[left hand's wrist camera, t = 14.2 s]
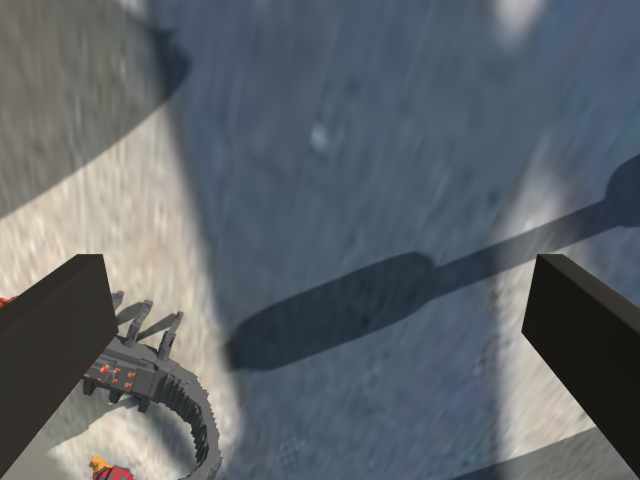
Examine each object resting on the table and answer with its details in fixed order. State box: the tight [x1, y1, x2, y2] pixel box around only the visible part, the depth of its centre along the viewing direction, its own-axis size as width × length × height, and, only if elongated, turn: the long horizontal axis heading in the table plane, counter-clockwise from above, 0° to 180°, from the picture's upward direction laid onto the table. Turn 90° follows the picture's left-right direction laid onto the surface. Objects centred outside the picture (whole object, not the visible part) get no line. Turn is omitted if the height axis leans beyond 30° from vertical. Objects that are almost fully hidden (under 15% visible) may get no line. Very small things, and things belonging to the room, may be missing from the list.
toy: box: [0, 291, 223, 480], centre depth 39 cm, size 13×27×18 cm, turn 67°
